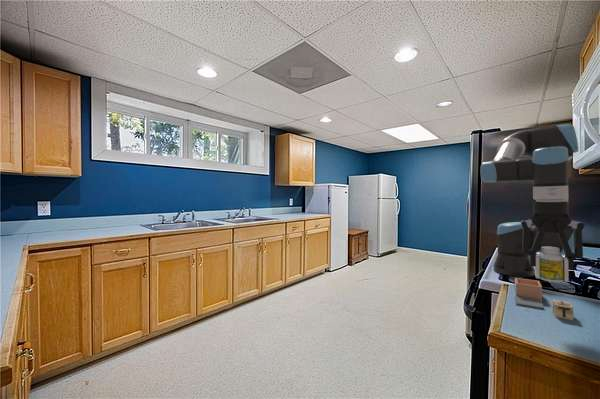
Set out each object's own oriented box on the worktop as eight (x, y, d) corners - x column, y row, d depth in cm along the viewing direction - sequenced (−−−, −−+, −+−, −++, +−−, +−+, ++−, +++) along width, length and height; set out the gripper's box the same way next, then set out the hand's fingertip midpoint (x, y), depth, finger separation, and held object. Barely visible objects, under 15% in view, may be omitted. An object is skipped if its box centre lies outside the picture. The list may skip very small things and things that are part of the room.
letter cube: (552, 311, 84) (552, 299, 84) (570, 315, 82) (570, 302, 82) (555, 317, 81) (554, 304, 81) (573, 320, 79) (573, 307, 78)
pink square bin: (514, 290, 102) (514, 277, 102) (539, 294, 98) (539, 280, 98) (516, 296, 96) (516, 283, 96) (542, 300, 92) (542, 286, 92)
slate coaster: (514, 297, 96) (514, 295, 96) (540, 301, 92) (540, 300, 92) (516, 304, 90) (516, 303, 90) (543, 309, 86) (543, 307, 86)
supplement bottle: (565, 279, 77) (565, 247, 77) (561, 284, 74) (561, 250, 74) (540, 275, 82) (540, 244, 81) (536, 279, 78) (536, 247, 78)
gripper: (510, 201, 79) (512, 277, 80) (601, 201, 68) (601, 288, 69) (509, 200, 85) (510, 270, 86) (592, 199, 74) (592, 279, 75)
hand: (551, 278), depth 78 cm, fingers closed on supplement bottle, 5 cm apart
